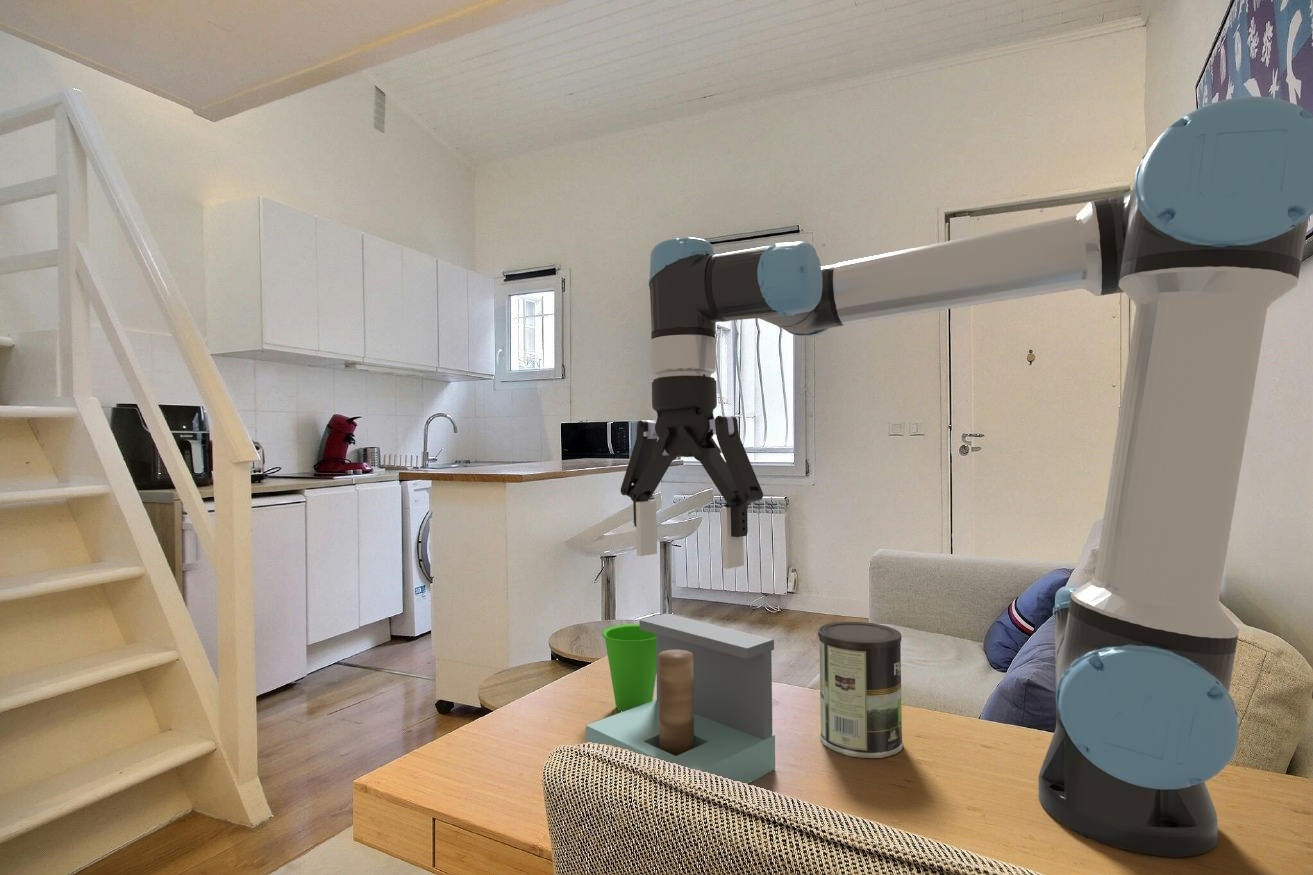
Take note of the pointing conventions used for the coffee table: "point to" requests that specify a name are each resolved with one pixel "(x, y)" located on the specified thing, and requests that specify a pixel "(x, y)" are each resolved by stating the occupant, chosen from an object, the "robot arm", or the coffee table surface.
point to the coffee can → (860, 689)
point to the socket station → (708, 702)
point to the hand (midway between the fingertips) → (687, 560)
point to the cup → (631, 664)
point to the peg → (676, 701)
